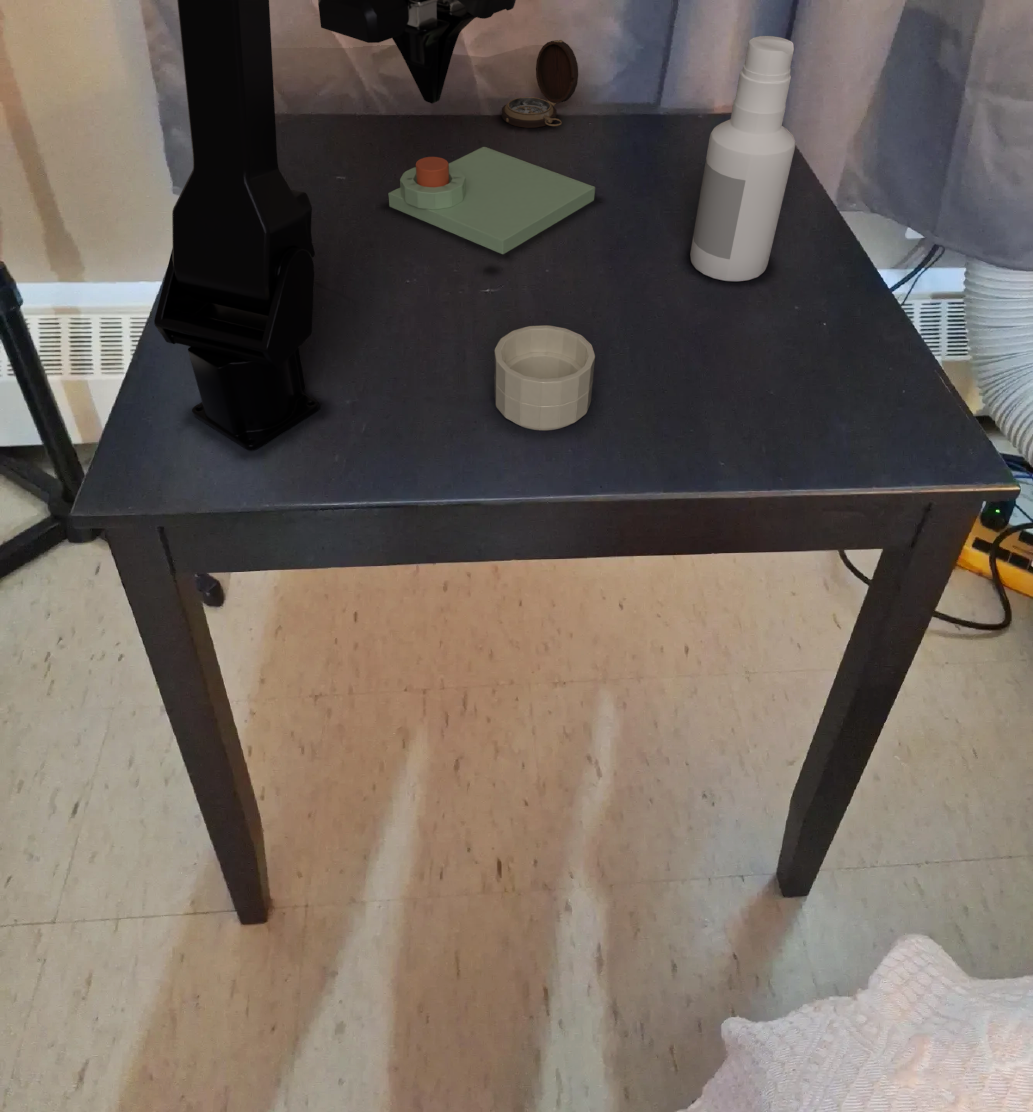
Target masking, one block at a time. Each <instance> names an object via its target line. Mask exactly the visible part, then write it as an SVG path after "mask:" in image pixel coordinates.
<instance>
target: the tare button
mask: <svg viewBox="0 0 1033 1112" xmlns="http://www.w3.org/2000/svg"><path fill="white" fill-rule="evenodd" d="M415 167H416V177H417V184H419V185H421V186H424V187H441V186H444V185H446V184H448V183H449V162H448V160H446V159H445V158H442V157H440V156H426V157H422V158H420V159H418V160H416V163H415Z"/></svg>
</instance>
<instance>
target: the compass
mask: <svg viewBox="0 0 1033 1112" xmlns="http://www.w3.org/2000/svg"><path fill="white" fill-rule="evenodd" d="M535 63H536V64H535V78H536V81H537V86H538V88H539V91H540V93H541V95H543V97H544V99H543V98H540V97H536V96H535V97H534V96H521V97H516V98H512V99H511V100H509V102H507V103H506V104H504V105H503V106H502V107H501V118H502V120H503V121H504V122H505V123H508V124H509V125H511V126H513V127H519V128H523V129H524V128H525V129H537V128H542V127H546V126H550V127H559V126H560V125H562V124H563V122H562V120H561V119H559V118H557V115H558V113H557V111H558V110H557V109H556V107H555V106H556V104H557V105H558V104H560V103H565V102H567V101H568V100H570V99H571V98H572V96H573V95H574V93H575V91H576V89H577V86H578V80H579V65H578V60H577V57H576V55H575V53H574V50H573V49H572V47H570V45H569V44H568V43H567V42H565V41H564V40H563V39H559V40H558V39H557V40H551V41H547V42H546V43H545V44H544V45H542V46H541V49H540V50H539V52H538V54H537V57H536V62H535ZM545 99H546V100H545ZM555 121H558V122H560V123H556V124H553V123H554V122H555Z"/></svg>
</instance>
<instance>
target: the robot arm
mask: <svg viewBox="0 0 1033 1112" xmlns="http://www.w3.org/2000/svg"><path fill="white" fill-rule="evenodd" d="M176 1H177V11H178V12H177V13H178V21H179V32H180V41H181V42H180V43H181V50H182V51H181V52H182V62H183V72H184V81H185V91H186V103H187V111H188V120H189V121H188V122H189V131H190V141H191V153H192V171H191V172H190V174H189V176H188V178H187V180H186V182H185V184H184V186H183V188H182V189H181V192H180V194H179V195H178V198H177V200H176V202H175V204H174V206H173V208H172V214H171V216H172V217H171V219H172V221H171V222H172V224H171V225H172V227H171V228H172V234H171V236H172V248H171V252H170V256H169V261H168V264H167V268H166V272H165V276H164V280H163V285H162V289H161V292H160V296H159V299H158V304H157V308H156V312H155V316H154V320H153V321H154V324H153V325H154V326H155V328H156V329H157V331H158V332H159V334H160V335H161V337H162V338H163V340H164V341H165V342H166V343H168V344H173V345H175V344H179V345H182V346H187V347H188V348H187V352H188V356H189V360H190V363H191V367H192V370H193V374H194V377H195V378H194V379H195V381H196V385H197V389H198V393H199V396H200V400H201V402H200V403H197V404H196V405H194V407H192V409H191V412H192V415H193V417H194V418H196V419H197V420H199V421H200V422H202V423H204V425H205V424H206V425H207V426H208V427H210V428H212V429H213V430H214V431H216V432H218V433H220V434H221V435H223V436H224V437H225V438H227V439H229V440H230V441H232V442H234V443H235V444H237V445H239V446H240V447H241V448H243V449H245V450H247V451H255V450H257V449H258V448H260V447H262V446H264V445H265V444H267V443H268V442H269V441H271V440H273V439H274V438H276V437H277V436H279V435H281V434H282V433H284V432H285V431H287V430H289V429H290V428H291V427H293V426H295V425H297V424H298V423H300V422H301V421H303V420H304V419H306V418H307V417H309V416H311V415H312V414H314V413H315V412H317V411H318V410H319V403H318V401H317V400H316V399H314V398H313V397H311V396H309V395H307V394H305V393H304V391H305V390H306V381H305V374H304V368H303V363H302V358H301V352H300V347H301V346H302V345H303V344H304V343H305V342H306V340H307V339H308V338H309V337H311V335H312V332H313V312H314V311H313V310H314V288H315V287H314V285H315V265H314V259H313V258H314V257H315V255H316V252H315V249H314V244H313V237H312V217H313V215H312V214H313V207H312V204H311V200H310V198H309V195H308V194H307V193H306V192H305V191H302V190H301V191H300V190H295V189H292V188H290V186H289V184H288V183H287V181H286V179H285V177H284V175H283V174H282V172H281V170H280V168H279V163H278V162H279V161H278V146H277V126H276V109H275V108H276V107H275V89H274V69H273V67H274V66H273V53H272V52H273V51H272V50H273V49H272V48H273V47H272V31H271V11H270V0H176ZM516 1H517V0H317V2H318V3H317V4H318V14H319V22H320V28H321V29H324V30H326V31H331V32H333V33H336V34H339V35H343V36H345V37H349V38H352V39H355V40H358V41H360V42H363V43H368V44H376V43H377V44H379V43H382V42H384V41H387V40H391V39H392V40H393V43H394V44H395V45H396V48H397V49H398V51H399V53H400V55H401V56H402V58H403V60H404V62H405V64H406V66H407V68H408V70H409V72H410V74H411V76H412V78H413V80H414V83H415V84H416V87H417V89H418V90H419V93H420V95H421V97H422V99H423V100H424V101H425V102H427V103H429V104H435V103H437V102H439V101H440V99H441V97H442V92H443V89H444V85H445V82H446V78H447V74H448V71H449V67H450V63H451V60H452V56H453V53H454V50H455V47H456V44H457V41H458V38H459V36H460V34H461V32H462V31H463V30H464V29H465V28H466V27H467V26H468V25H469V24H470V23H471V22H472V21H473V20H475V19H476V18H478V19H483V20H484V19H489V18H491V17H493V16H494V14H497V13H499V12H502V11H505V10H506V11H510V10H512V9H514V8H515V4H516Z"/></svg>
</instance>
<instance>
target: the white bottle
mask: <svg viewBox="0 0 1033 1112" xmlns="http://www.w3.org/2000/svg"><path fill="white" fill-rule="evenodd" d="M794 47H795V45H794V42H793V41H791V40H789V39H787V38H784V37H780V36H773V35H760V36H759V35H758V36H754V37H753V38H750V39H749V41H748V43H747V47H746V48H747V49H746V54H745V60H744V63H743V66H742V69H741V70H740V71H739V76H738V82H737V86H736V87H737V88H736V93H735V97H734V100H733V104H732V109H731V114H730V118H729V119H727V120H725V121H722V122H721V123H719V124H717V125H716V126H714V128H713V129H712V131H711V132H710V134H709V139H708V145H707V149H706V150H707V152H706V157H705V161H704V169H703V174H702V180H701V187H700V192H699V199H698V204H697V211H696V217H695V221H694V222H695V223H694V230H693V234H692V241H691V247H690V254H689V256H690V263H691V264H692V266H693V267H694V268H695V270H696V271H698V272H700V273H701V274H702V275H705V276H707V277H709V278H712V279H715V280H720V281H725V282H744V281H750V280H754V279H756V278H758V277H760V276H761V275H762V274H763V273H764V272H765V271H766V270H767V267H768V265H769V260H770V255H771V252H772V248H773V243H774V240H775V236H776V235H775V234H776V230H777V226H778V223H779V218H780V213H781V210H782V205H783V201H784V197H785V193H786V188H787V183H788V179H789V175H790V170H791V166H792V162H793V157H794V154H795V149H796V140H795V137H794V135H793V133H792V132H790V131H789V130H788V129H787V128H786V127H785V126H784V125H783V122H784V119H785V118H784V117H785V112H786V109H787V105H786V103H787V100H788V99H787V98H788V94H789V89H790V85H791V79H792V76H791V71H792V69H791V65H792V60H793V56H794V51H795V49H794Z"/></svg>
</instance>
